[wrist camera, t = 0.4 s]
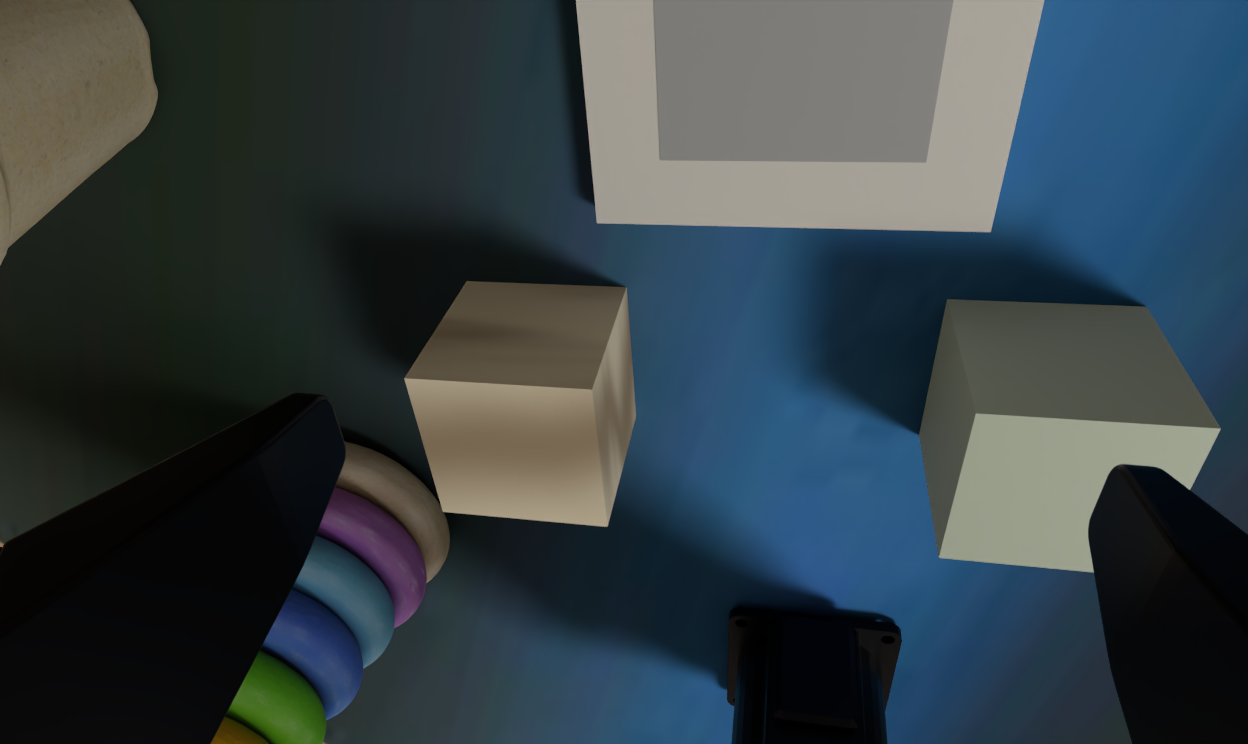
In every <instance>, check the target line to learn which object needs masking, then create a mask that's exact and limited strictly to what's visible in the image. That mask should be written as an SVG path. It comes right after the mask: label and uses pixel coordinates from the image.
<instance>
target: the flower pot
mask: <svg viewBox="0 0 1248 744" xmlns="http://www.w3.org/2000/svg"><path fill="white" fill-rule="evenodd" d="M157 99H158V90H157V86H156V84H155V82H154V77H153V71H152V63H151V54H150V40H149V36H148V33H147V31H146V29H145V26H144V24H143V22H142V20H141V18H140V16H139V15H138V13H137V11H136V9H135V8H134V6H133V4H132V3H131V1H130V0H0V265H1V263H2V261H3V259H4V257H5V255H6V252H7V249H8V247H10V246H11V245H12V244H13V243H14V242H15V241H16V240H17V239H19V238H20V237H21V236H22V235H23V234H24V233H25V232H27V231H28V230H29V229H30V228H31V227H32V226H33V225H35V224H36V223H37V222H38V221H39V220H40V219H41V218H42V217H44V216H45V215H46V214H47V213H48V212H49V211H50V210H52V209H53V208H54V207H55V206H56V205H57V204H58V203H59V202H60V201H62V200H63V199H64V198H65V197H66V196H67V195H68V194H69V193H71V192H72V191H73V190H74V189H75V188H76V187H77V186H79V185H80V184H81V183H82V182H83V181H84V180H85V179H87V178H88V177H89V176H90V175H91V174H92V173H94V172H95V171H96V170H97V169H98V168H100V167H101V166H102V165H103V164H104V163H106V162H107V161H108V160H109V159H110V158H112V157H113V156H114V155H115V154H116V153H117V152H119V151H120V150H121V149H122V148H123V147H124V146H126V145H127V144H128V143H129V142H131V141H132V140H133V139H135V138H136V137H137V136H139V135H140V133H141V132H142V131H143V130H144V129H145V127H146V126H147V125H148V123H149V121H150V119H151V117H152V115H153V112H154V110H155V107H156V103H157Z"/></svg>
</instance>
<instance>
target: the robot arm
mask: <svg viewBox="0 0 1248 744" xmlns="http://www.w3.org/2000/svg"><path fill="white" fill-rule="evenodd" d="M345 457H346V446H345V442H344V439H343V435H342V432H341V429H340V426H339V423H338V420H337V417H336V414H335V411H334V408H333V405H332V403H331V401H330V400H329V399H328V398H327V397H326V396H324V395H319V394H307V393H294V394H291V395H289V396H287V397H285V398H283V399H281V400H279V401H277V402H276V403H274V404H272V405H270V406H268V407H266V408H264V409H262V410H260V411H258V412H256V413H254V414H252V415H250V416H249V417H247V418H245V419H243V420H241V421H239V422H237V423H235V424H233V425H231V426H229V427H227V428H225V429H223V430H221V431H220V432H218V433H216V434H214V435H212V436H210V437H208V438H206V439H204V440H202V441H200V442H198V443H196V444H194V445H193V446H191V447H189V448H187V449H185V450H183V451H181V452H179V453H177V454H175V455H173V456H171V457H169V458H167V459H166V460H164V461H162V462H160V463H158V464H156V465H154V466H152V467H150V468H148V469H146V470H144V471H142V472H140V473H138V474H137V475H135V476H133V477H131V478H129V479H127V480H125V481H123V482H121V483H119V484H117V485H115V486H113V487H111V488H110V489H108V490H106V491H104V492H102V493H100V494H98V495H96V496H94V497H92V498H90V499H88V500H86V501H84V502H83V503H81V504H79V505H77V506H75V507H73V508H71V509H69V510H67V511H65V512H63V513H61V514H59V515H57V516H55V517H54V518H52V519H50V520H48V521H46V522H44V523H42V524H40V525H38V526H36V527H34V528H32V529H30V530H28V531H27V532H25V533H23V534H21V535H19V536H17V537H15V538H13V539H11V540H9V541H7V542H6V543H5V544H4V545H3V548H2V547H0V744H211V742H212V740H213V738H214V736H215V735H216V733H217V731H218V729H219V727H220V725H221V723H222V721H223V719H224V717H225V715H226V714H227V712H228V710H229V708H230V706H231V704H232V702H233V700H234V698H235V696H236V695H237V693H238V691H239V689H240V687H241V685H242V683H243V681H244V679H245V677H246V675H247V674H248V672H249V670H250V668H251V666H252V664H253V662H254V660H255V658H256V656H257V654H258V653H259V651H260V649H261V647H262V645H263V643H264V641H265V639H266V637H267V635H268V634H269V632H270V630H271V628H272V626H273V624H274V622H275V620H276V618H277V616H278V614H279V613H280V611H281V609H282V607H283V605H284V603H285V601H286V599H287V597H288V595H289V594H290V592H291V590H292V588H293V586H294V584H295V582H296V580H297V578H298V576H299V574H300V572H301V570H302V568H303V566H304V563H305V561H306V559H307V556H308V554H309V552H310V549H311V547H312V544H313V542H314V539H315V537H316V534H317V532H318V529H319V527H320V524H321V521H322V519H323V516H324V514H325V511H326V509H327V506H328V504H329V501H330V499H331V496H332V494H333V491H334V488H335V486H336V483H337V481H338V478H339V476H340V473H341V471H342V468H343V465H344V462H345ZM1088 540H1089V547H1090V552H1091V558H1092V564H1093V570H1094V576H1095V582H1096V588H1097V594H1098V600H1099V606H1100V612H1101V618H1102V624H1103V630H1104V635H1105V641H1106V647H1107V652H1108V657H1109V662H1110V668H1111V672H1112V676H1113V679H1114V683H1115V687H1116V690H1117V694H1118V697H1119V701H1120V704H1121V707H1122V711H1123V714H1124V717H1125V721H1126V724H1127V727H1128V731H1129V734H1130V737H1131V741H1132V744H1248V534H1246V533H1245V532H1244V531H1242V530H1241V529H1240V528H1238V527H1237V526H1236V525H1235V524H1233V523H1232V522H1231V521H1229V520H1228V519H1227V518H1225V517H1224V516H1223V515H1222V514H1220V513H1219V512H1218V511H1216V510H1215V509H1214V508H1212V507H1211V506H1210V505H1209V504H1207V503H1206V502H1205V501H1203V500H1202V499H1201V498H1199V497H1198V496H1197V495H1196V494H1194V493H1193V492H1192V491H1190V490H1189V489H1188V488H1187V487H1185V486H1184V485H1183V484H1181V483H1180V482H1179V481H1177V480H1176V479H1175V478H1174V477H1172V476H1171V475H1170V474H1168V473H1167V472H1165V471H1164V470H1162V469H1160V468H1158V467H1153V466H1142V465H1130V464H1120V465H1117V466H1115V467H1114V468H1113V469H1112V470H1111V471H1110V473H1109V474H1108V476H1107V479H1106V481H1105V484H1104V486H1103V488H1102V491H1101V493H1100V495H1099V498H1098V500H1097V503H1096V505H1095V507H1094V510H1093V512H1092V514H1091V517H1090V520H1089V526H1088ZM901 642H902V640H901V630H900V628H899V627H898V626H897V625H895V624H891V623H885V622H876V621H867V620H857V619H848V618H839V617H830V616H820V615H811V614H802V613H793V612H783V611H774V610H765V609H756V608H747V607H736V608H733V609H732V610H731V611H730V614H729V636H728V683H727V700H728V702H729V703H730V704H731V705H733V706H734V718H733V731H732V744H887V731H886V719H885V709H886V705H887V701H888V697H889V693H890V688H891V684H892V680H893V676H894V672H895V667H896V663H897V659H898V655H899V651H900V646H901Z"/></svg>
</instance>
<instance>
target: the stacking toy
mask: <svg viewBox="0 0 1248 744" xmlns="http://www.w3.org/2000/svg"><path fill="white" fill-rule="evenodd" d="M344 442H345V441H344ZM345 446H346V457H345V462H344V465H343V468H342V471H341V473H340V476H339V478H338V481H337V483H336V486H335V488H334V491H333V494H332V496H331V499H330V501H329V504H328V506H327V509H326V511H325V514H324V516H323V519H322V521H321V524H320V527H319V529H318V532H317V534H316V537H315V539H314V542H313V544H312V547H311V549H310V552H309V554H308V556H307V559H306V561H305V563H304V566H303V568H302V570H301V572H300V574H299V576H298V578H297V580H296V582H295V584H294V586H293V588H292V590H291V592H290V594H289V595H288V597H287V599H286V601H285V603H284V605H283V607H282V609H281V611H280V613H279V614H278V616H277V618H276V620H275V622H274V624H273V626H272V628H271V630H270V632H269V634H268V635H267V637H266V639H265V641H264V643H263V645H262V647H261V649H260V651H259V653H258V654H257V656H256V658H255V660H254V662H253V664H252V666H251V668H250V670H249V672H248V674H247V675H246V677H245V679H244V681H243V683H242V685H241V687H240V689H239V691H238V693H237V695H236V696H235V698H234V700H233V702H232V704H231V706H230V708H229V710H228V712H227V714H226V715H225V717H224V719H223V721H222V723H221V725H220V727H219V729H218V731H217V733H216V735H215V736H214V738H213V740H212V742H211V744H322V742H323V740H324V737H325V733H326V720H327V719H330V718H332V717H334V716H336V715H337V714H339V713H340V712H341V711H343V710H344V709H345V708H346V707H347V706H348V705H349V704H350V702H351V701H352V700H353V698H354V697H355V695H356V694H357V692H358V689H359V687H360V684H361V681H362V676H363V668H365V667H367V666H368V665H370V664H371V663H373V662H374V661H375V660H376V659H377V658H378V657H379V656H381V654H382V653H383V652H384V650H385V649H386V647H387V645H388V644H389V642H390V640H391V637H392V634H393V630H394V628H395V627H397V626H399V625H401V624H402V623H404V622H405V621H407V620H408V619H409V618H410V617H411V616H412V615H413V614H414V613H415V611H416V610H417V609H418V607H419V605H420V603H421V601H422V599H423V596H424V593H425V589H426V583H427V582H429V581H430V580H431V579H432V578H433V577H434V576H435V575H436V574H437V573H438V572H439V570H440V569H441V567H442V565H443V563H444V562H445V560H446V557H447V554H448V550H449V544H450V533H449V526H448V523H447V519H446V517H445V514H444V512H443V511H442V508H441V506H440V504H439V502H438V501H437V500H436V498H435V497H434V495H433V494H432V493H431V491H430V490H429V489H428V488H427V487H426V486H425V485H424V484H423V483H422V482H421V481H420V480H419V479H418V478H417V477H416V476H415V475H414V474H413V473H411V472H410V471H409V470H407V469H406V468H404V467H403V466H402V465H400V464H399V463H397V462H395V461H394V460H392V459H390V458H388V457H387V456H385V455H383V454H381V453H378V452H376V451H374V450H372V449H369V448H366V447H363V446H360V445H357V444H353V443H349V442H345Z"/></svg>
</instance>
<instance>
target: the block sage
mask: <svg viewBox="0 0 1248 744" xmlns="http://www.w3.org/2000/svg"><path fill="white" fill-rule="evenodd" d="M1220 429H1221V428H1220V426H1219V425H1218V423H1217V422H1216V420H1215V418H1214V417H1213V415H1212V413H1211V412H1210V410H1209V408H1208V407H1207V405H1206V403H1205V402H1204V400H1203V399H1202V397H1201V395H1200V394H1199V392H1198V390H1197V389H1196V387H1195V385H1194V384H1193V382H1192V381H1191V379H1190V377H1189V376H1188V374H1187V372H1186V371H1185V369H1184V367H1183V366H1182V364H1181V362H1180V361H1179V359H1178V358H1177V356H1176V354H1175V353H1174V351H1173V349H1172V348H1171V346H1170V344H1169V343H1168V341H1167V339H1166V338H1165V336H1164V335H1163V333H1162V331H1161V330H1160V328H1159V326H1158V325H1157V323H1156V321H1155V320H1154V318H1153V316H1152V315H1151V313H1150V312H1149V310H1148V308H1147V307H1142V306H1115V305H1089V304H1062V303H1035V302H1009V301H982V300H955V299H947V302H946V307H945V312H944V317H943V321H942V326H941V331H940V336H939V341H938V346H937V350H936V355H935V360H934V365H933V370H932V375H931V379H930V384H929V389H928V394H927V399H926V404H925V409H924V413H923V418H922V423H921V428H920V433H919V438H920V445H921V451H922V457H923V463H924V469H925V476H926V482H927V488H928V494H929V500H930V507H931V513H932V519H933V525H934V531H935V538H936V544H937V550H938V556H939V558H946V559H956V560H967V561H978V562H988V563H999V564H1010V565H1020V566H1031V567H1042V568H1052V569H1063V570H1073V571H1084V572H1094V570H1093V564H1092V558H1091V552H1090V547H1089V540H1088V526H1089V520H1090V517H1091V514H1092V512H1093V510H1094V507H1095V505H1096V503H1097V500H1098V498H1099V495H1100V493H1101V491H1102V488H1103V486H1104V484H1105V481H1106V479H1107V476H1108V474H1109V473H1110V471H1111V470H1112V469H1113V468H1114V467H1115V466H1117V465H1120V464H1130V465H1142V466H1153V467H1158V468H1160V469H1162V470H1164V471H1165V472H1167V473H1168V474H1170V475H1171V476H1172V477H1174V478H1175V479H1176V480H1177V481H1179V482H1180V483H1181V484H1183V485H1184V486H1185V487H1187V488H1188V489H1189V490H1190V489H1191V487H1192V485H1193V483H1194V481H1195V479H1196V477H1197V475H1198V473H1199V471H1200V469H1201V467H1202V465H1203V463H1204V461H1205V459H1206V457H1207V455H1208V453H1209V451H1210V449H1211V447H1212V445H1213V443H1214V441H1215V439H1216V437H1217V435H1218V433H1219V431H1220Z"/></svg>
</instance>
